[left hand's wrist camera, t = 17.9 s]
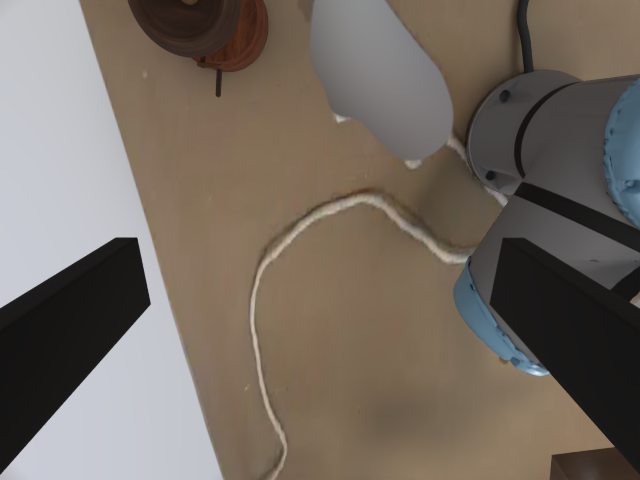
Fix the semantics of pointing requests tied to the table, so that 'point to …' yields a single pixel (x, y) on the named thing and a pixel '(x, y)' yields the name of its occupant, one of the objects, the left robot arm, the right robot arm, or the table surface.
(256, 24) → the music box
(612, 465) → the box
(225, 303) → the table surface
